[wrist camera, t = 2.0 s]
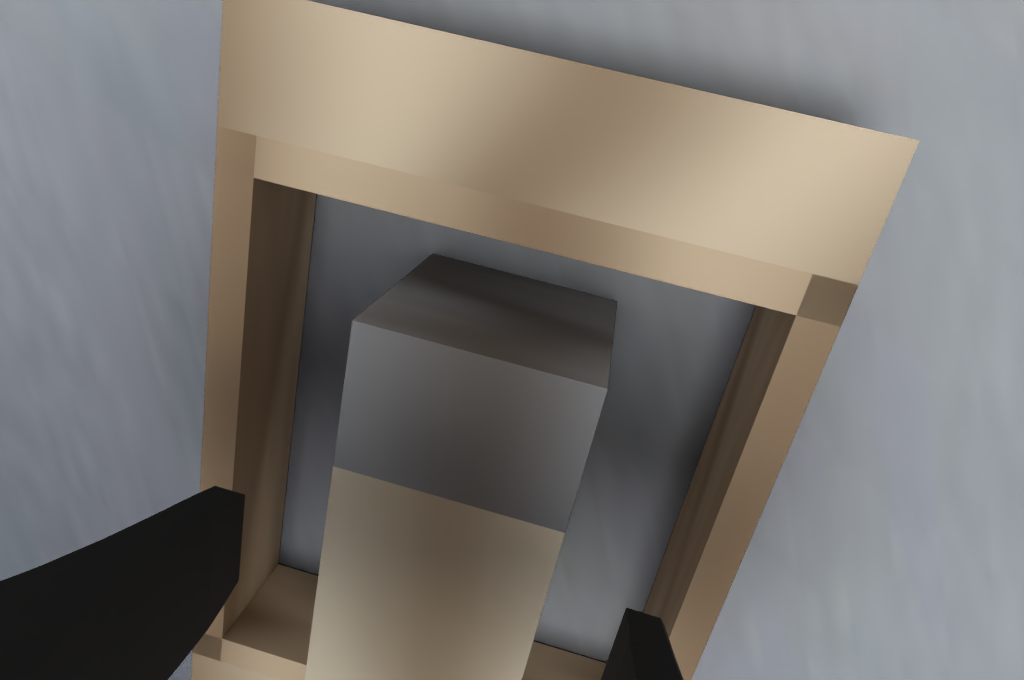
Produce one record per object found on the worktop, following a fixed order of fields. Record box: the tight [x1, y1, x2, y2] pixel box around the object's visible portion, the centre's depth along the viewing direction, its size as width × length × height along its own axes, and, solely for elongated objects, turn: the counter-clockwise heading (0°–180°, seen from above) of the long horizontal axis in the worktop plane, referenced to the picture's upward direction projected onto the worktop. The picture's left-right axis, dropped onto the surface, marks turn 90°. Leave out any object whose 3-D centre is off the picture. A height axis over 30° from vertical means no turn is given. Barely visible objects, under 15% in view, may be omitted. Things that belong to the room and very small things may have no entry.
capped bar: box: [305, 254, 617, 680], centre depth 16 cm, size 4×9×5 cm, turn 168°
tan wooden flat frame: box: [191, 0, 919, 680], centre depth 17 cm, size 12×19×3 cm, turn 168°
